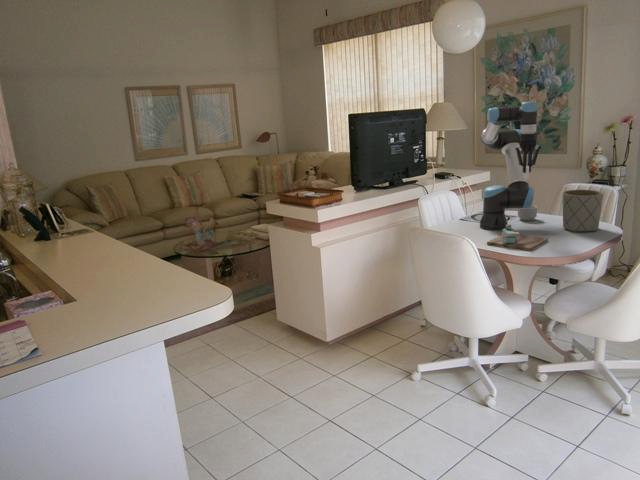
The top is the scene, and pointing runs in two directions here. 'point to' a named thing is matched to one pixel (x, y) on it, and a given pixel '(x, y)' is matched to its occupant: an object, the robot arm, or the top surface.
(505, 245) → the pivot board
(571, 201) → the planter
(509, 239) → the latch bar
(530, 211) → the teacup
